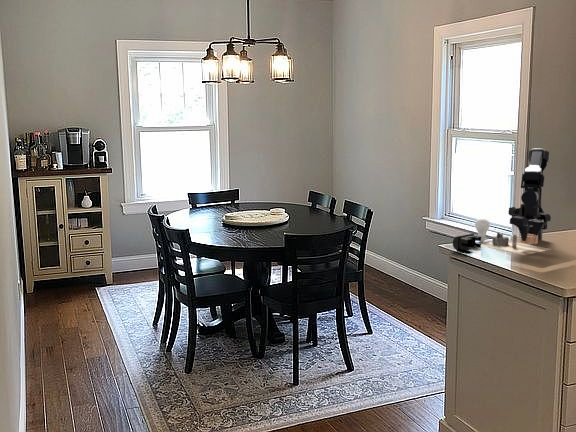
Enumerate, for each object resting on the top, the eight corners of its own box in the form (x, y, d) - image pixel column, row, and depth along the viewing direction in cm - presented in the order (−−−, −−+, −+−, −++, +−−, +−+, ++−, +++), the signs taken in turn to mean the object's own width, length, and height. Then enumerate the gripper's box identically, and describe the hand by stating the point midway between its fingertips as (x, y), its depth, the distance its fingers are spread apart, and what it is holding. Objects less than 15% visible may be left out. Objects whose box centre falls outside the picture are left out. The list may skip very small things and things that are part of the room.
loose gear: (527, 240, 263) (527, 233, 262) (541, 243, 258) (541, 235, 257) (517, 242, 259) (517, 235, 259) (531, 245, 254) (531, 237, 254)
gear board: (502, 242, 280) (503, 227, 279) (551, 252, 260) (552, 236, 259) (476, 247, 271) (476, 232, 270) (524, 258, 251) (525, 241, 250)
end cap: (467, 247, 272) (468, 232, 271) (481, 250, 266) (482, 234, 265) (451, 251, 266) (452, 235, 265) (465, 254, 260) (466, 238, 259)
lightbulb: (473, 243, 280) (474, 218, 278) (474, 240, 285) (475, 216, 284) (488, 244, 278) (489, 219, 276) (489, 241, 283) (490, 216, 281)
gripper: (528, 197, 267) (526, 234, 270) (499, 201, 257) (497, 239, 260) (552, 200, 258) (550, 238, 261) (522, 205, 248) (520, 244, 251)
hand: (529, 240), depth 258 cm, fingers closed on loose gear, 6 cm apart
